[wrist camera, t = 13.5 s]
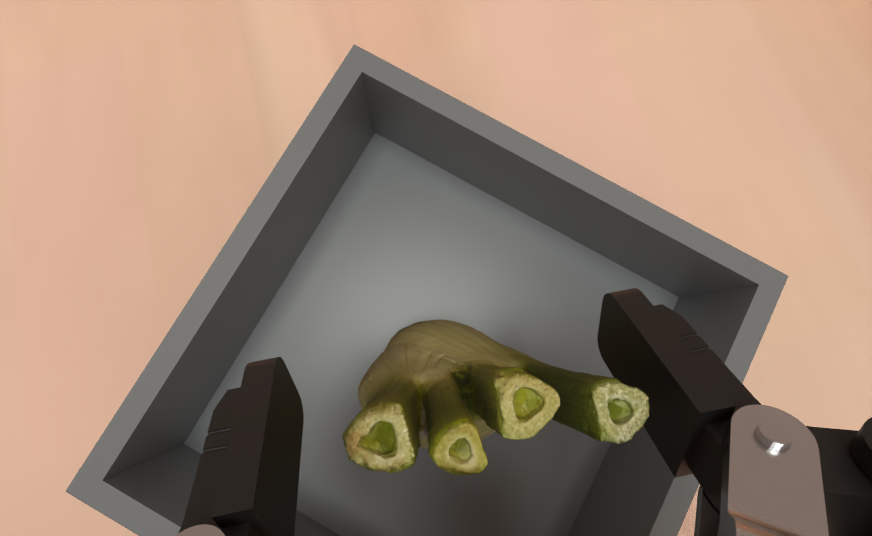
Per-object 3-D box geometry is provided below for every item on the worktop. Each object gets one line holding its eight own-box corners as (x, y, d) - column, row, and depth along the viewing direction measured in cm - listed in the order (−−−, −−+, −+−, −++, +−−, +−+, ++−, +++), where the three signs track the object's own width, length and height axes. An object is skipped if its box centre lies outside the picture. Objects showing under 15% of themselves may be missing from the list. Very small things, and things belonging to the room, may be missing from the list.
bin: (169, 446, 20) (65, 491, 14) (371, 120, 23) (353, 44, 17) (522, 653, 19) (566, 792, 13) (689, 292, 22) (788, 276, 16)
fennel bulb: (516, 349, 20) (684, 367, 9) (479, 458, 20) (607, 645, 8) (395, 301, 20) (394, 253, 8) (351, 409, 19) (284, 525, 8)
